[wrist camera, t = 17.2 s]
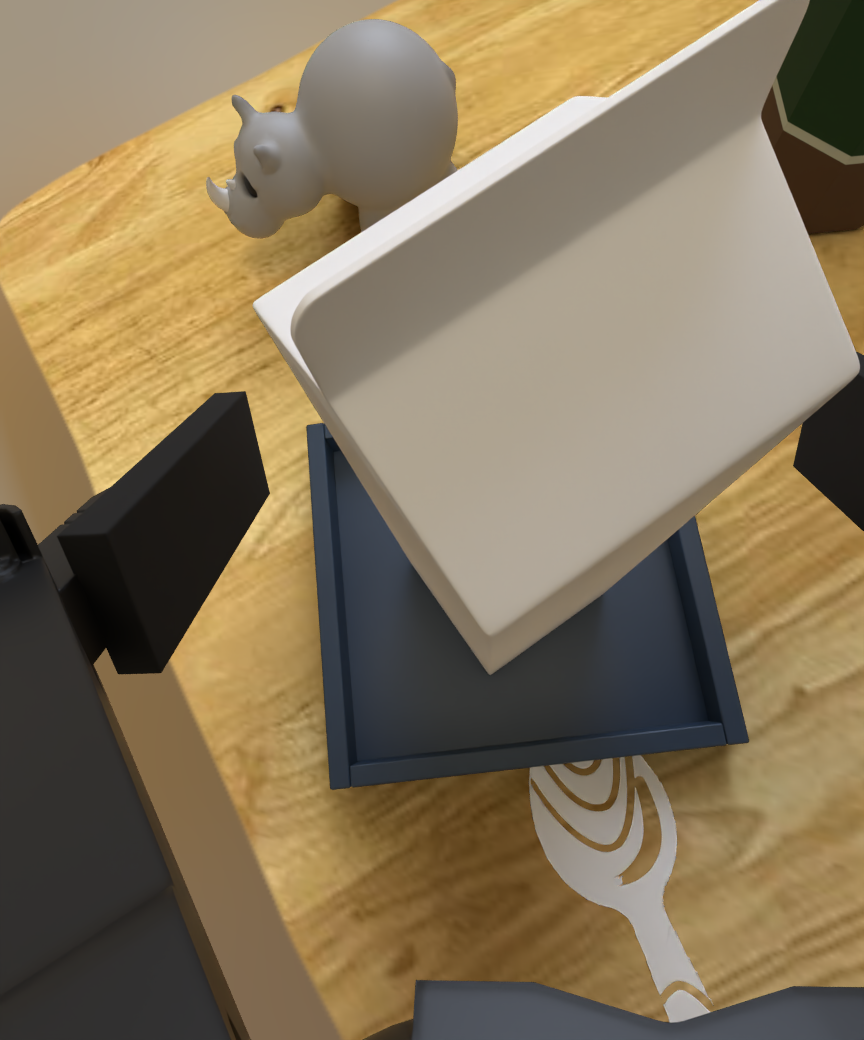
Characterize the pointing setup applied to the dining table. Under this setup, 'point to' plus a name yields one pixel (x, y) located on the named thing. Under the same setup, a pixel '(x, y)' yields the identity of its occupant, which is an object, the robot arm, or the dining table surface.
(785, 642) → the dining table surface
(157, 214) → the dining table surface
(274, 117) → the toy rhinoceros
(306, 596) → the dining table surface
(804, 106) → the beer bottle
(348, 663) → the tray
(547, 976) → the dining table surface
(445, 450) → the milk
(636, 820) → the spoon
